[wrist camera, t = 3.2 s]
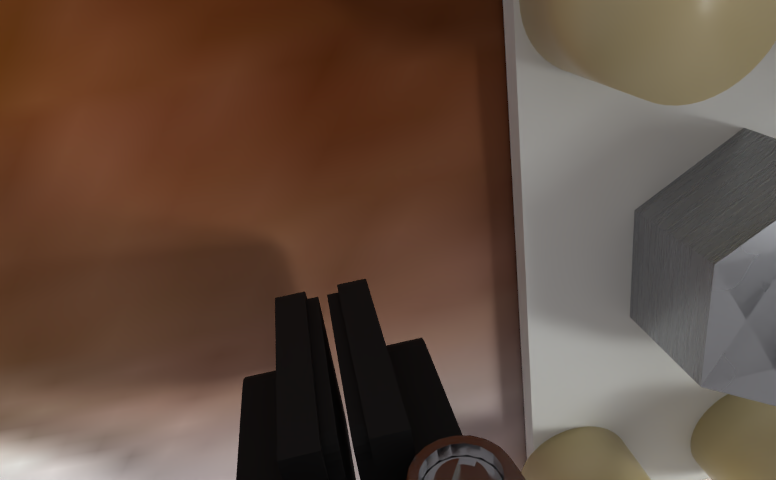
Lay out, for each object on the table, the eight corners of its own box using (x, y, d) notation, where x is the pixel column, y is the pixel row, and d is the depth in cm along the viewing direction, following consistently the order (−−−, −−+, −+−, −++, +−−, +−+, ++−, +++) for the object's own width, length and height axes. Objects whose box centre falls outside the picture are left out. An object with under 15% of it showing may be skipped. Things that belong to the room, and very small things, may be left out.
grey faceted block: (847, 106, 12) (975, 139, 10) (803, 321, 14) (900, 386, 12) (637, 148, 11) (722, 192, 9) (627, 363, 14) (694, 439, 11)
